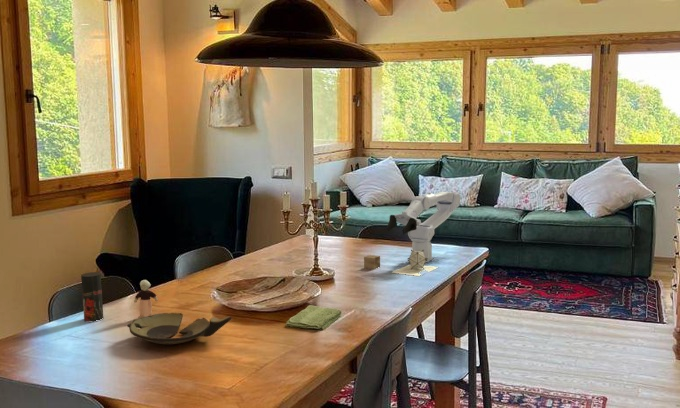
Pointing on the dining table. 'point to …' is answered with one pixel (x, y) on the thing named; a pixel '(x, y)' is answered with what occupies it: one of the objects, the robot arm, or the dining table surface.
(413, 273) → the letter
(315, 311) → the washcloth
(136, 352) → the dining table surface
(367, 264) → the walnut block
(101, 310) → the deodorant
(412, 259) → the game die
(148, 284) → the grandmother figurine
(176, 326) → the oil lamp
